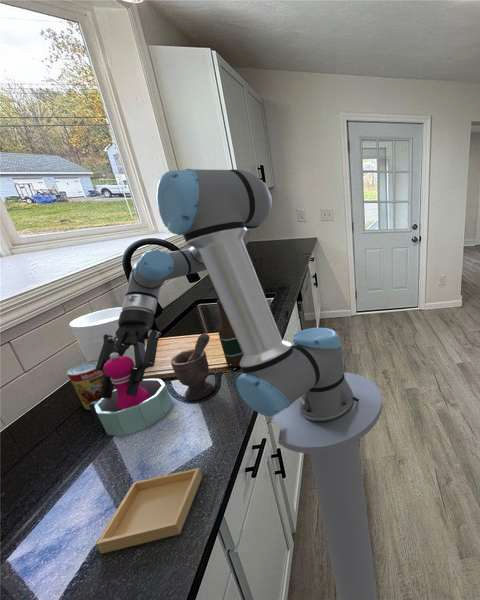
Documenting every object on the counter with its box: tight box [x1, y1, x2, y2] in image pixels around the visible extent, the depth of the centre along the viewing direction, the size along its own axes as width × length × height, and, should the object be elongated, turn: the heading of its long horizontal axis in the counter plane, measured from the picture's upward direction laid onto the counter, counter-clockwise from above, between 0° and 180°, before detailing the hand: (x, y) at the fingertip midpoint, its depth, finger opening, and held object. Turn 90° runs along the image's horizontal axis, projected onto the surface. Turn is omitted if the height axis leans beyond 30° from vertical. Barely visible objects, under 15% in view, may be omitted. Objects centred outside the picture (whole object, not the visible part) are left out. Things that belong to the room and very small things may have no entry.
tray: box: [95, 467, 203, 555], centre depth 60 cm, size 12×12×3 cm
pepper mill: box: [103, 353, 151, 411], centre depth 84 cm, size 7×7×20 cm
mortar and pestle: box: [170, 333, 214, 402], centre depth 92 cm, size 12×9×20 cm
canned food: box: [66, 360, 117, 411], centre depth 92 cm, size 8×8×12 cm
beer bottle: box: [216, 298, 243, 368], centre depth 107 cm, size 8×8×24 cm
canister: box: [69, 306, 147, 369], centre depth 108 cm, size 16×16×20 cm
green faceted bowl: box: [89, 378, 174, 436], centre depth 86 cm, size 17×15×7 cm
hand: (118, 396), depth 80 cm, fingers closed on pepper mill, 5 cm apart
